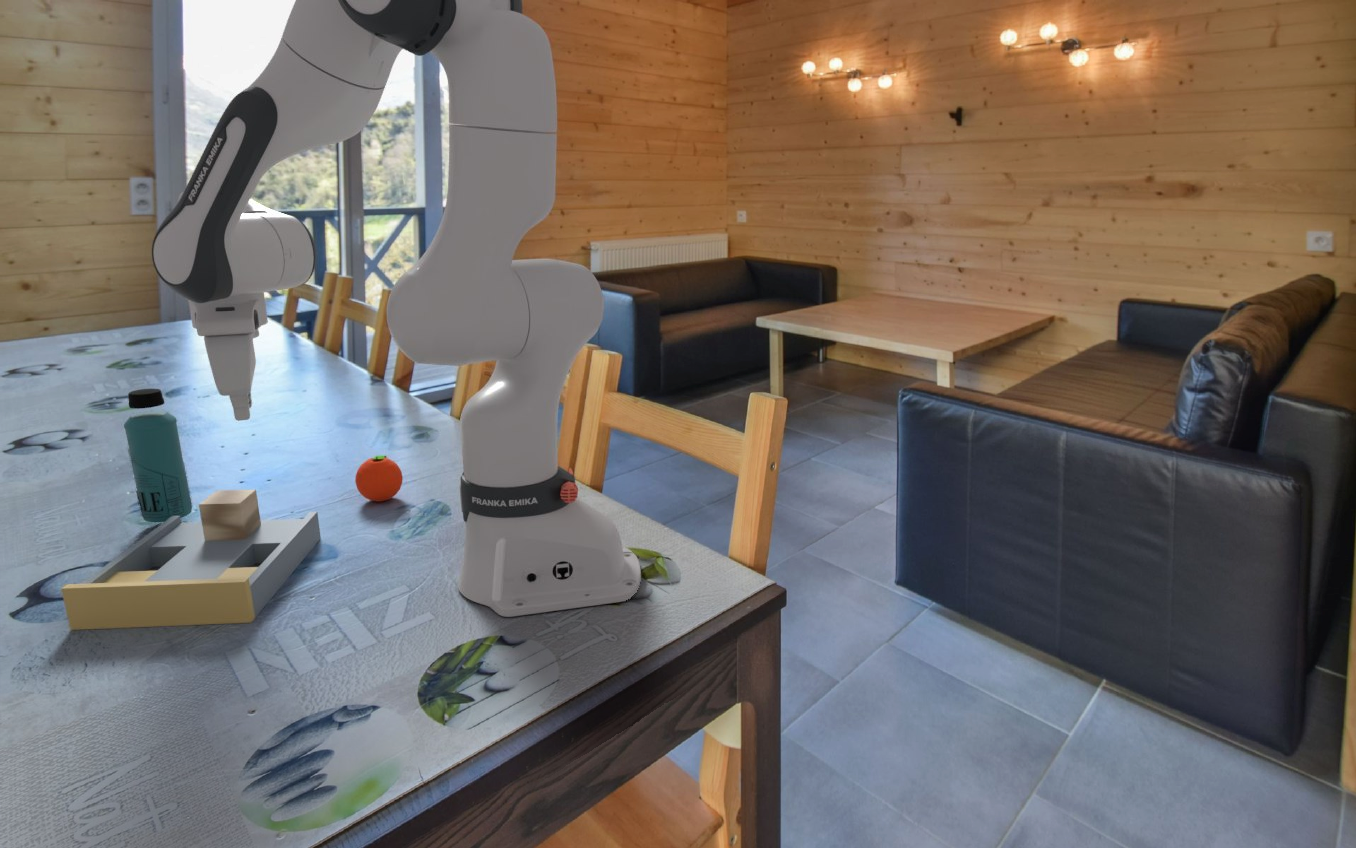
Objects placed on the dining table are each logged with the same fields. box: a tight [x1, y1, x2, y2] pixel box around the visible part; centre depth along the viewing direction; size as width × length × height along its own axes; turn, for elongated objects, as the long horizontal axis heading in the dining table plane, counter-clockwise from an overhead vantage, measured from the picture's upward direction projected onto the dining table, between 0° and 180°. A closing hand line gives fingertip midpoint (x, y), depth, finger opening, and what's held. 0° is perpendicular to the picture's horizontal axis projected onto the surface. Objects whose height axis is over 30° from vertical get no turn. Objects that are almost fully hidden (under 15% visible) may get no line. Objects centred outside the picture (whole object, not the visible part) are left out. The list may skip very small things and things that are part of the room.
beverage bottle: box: [123, 388, 194, 523], centre depth 113 cm, size 6×7×20 cm
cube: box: [198, 489, 261, 541], centre depth 105 cm, size 5×5×5 cm
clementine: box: [354, 455, 403, 502], centre depth 125 cm, size 8×7×7 cm
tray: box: [61, 511, 322, 631], centre depth 99 cm, size 23×19×5 cm
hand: (244, 413), depth 110 cm, fingers open, 5 cm apart
